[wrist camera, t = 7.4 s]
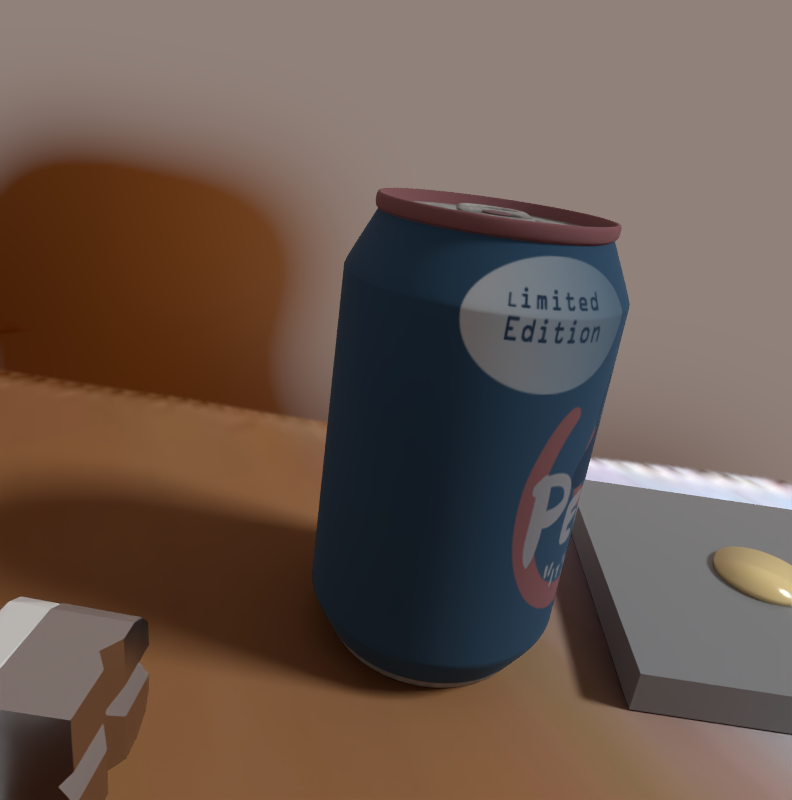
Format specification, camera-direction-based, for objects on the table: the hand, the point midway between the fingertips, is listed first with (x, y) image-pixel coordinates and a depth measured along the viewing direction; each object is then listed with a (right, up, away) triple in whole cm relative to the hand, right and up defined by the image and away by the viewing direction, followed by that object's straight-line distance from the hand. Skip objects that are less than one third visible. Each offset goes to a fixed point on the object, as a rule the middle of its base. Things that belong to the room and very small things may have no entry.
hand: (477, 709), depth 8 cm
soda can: (0, -3, +12) cm, 13 cm away
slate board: (+11, -3, +15) cm, 19 cm away
